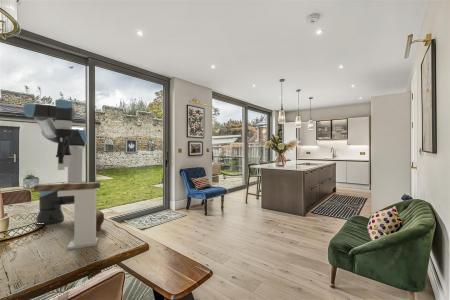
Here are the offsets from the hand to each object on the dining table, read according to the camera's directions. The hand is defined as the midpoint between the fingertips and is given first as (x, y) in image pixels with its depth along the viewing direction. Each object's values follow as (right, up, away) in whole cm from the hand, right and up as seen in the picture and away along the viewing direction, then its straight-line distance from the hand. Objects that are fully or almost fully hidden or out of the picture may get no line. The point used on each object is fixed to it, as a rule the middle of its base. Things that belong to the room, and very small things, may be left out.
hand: (63, 168), depth 120 cm
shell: (+5, -40, +19) cm, 45 cm away
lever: (+7, -11, -4) cm, 13 cm away
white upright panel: (+9, -41, -2) cm, 42 cm away
